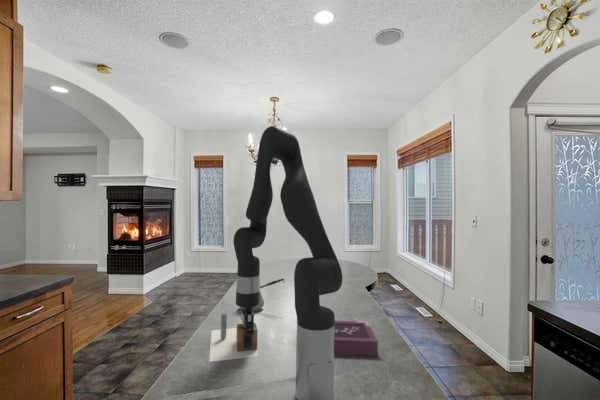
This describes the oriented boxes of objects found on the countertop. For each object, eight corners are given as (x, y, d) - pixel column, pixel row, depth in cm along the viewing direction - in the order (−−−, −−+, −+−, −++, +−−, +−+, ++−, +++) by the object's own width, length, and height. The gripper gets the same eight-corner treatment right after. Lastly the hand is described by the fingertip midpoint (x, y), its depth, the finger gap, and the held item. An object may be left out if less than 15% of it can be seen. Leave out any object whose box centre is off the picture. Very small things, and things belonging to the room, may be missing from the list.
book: (367, 335, 104) (367, 321, 105) (377, 357, 88) (378, 341, 88) (299, 332, 105) (299, 319, 106) (296, 354, 89) (297, 338, 89)
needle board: (258, 361, 84) (259, 327, 84) (209, 367, 80) (210, 331, 80) (250, 330, 105) (251, 303, 105) (211, 334, 101) (212, 306, 101)
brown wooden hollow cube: (257, 349, 88) (257, 329, 88) (237, 351, 86) (237, 331, 86) (254, 341, 93) (255, 322, 94) (236, 342, 92) (236, 324, 92)
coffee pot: (233, 312, 124) (234, 277, 125) (245, 304, 135) (246, 272, 136) (279, 317, 119) (280, 281, 119) (287, 308, 130) (288, 275, 130)
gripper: (263, 294, 85) (261, 350, 84) (257, 283, 98) (255, 330, 98) (237, 296, 83) (235, 353, 82) (234, 284, 96) (233, 332, 96)
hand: (246, 340), depth 90 cm, fingers open, 8 cm apart
